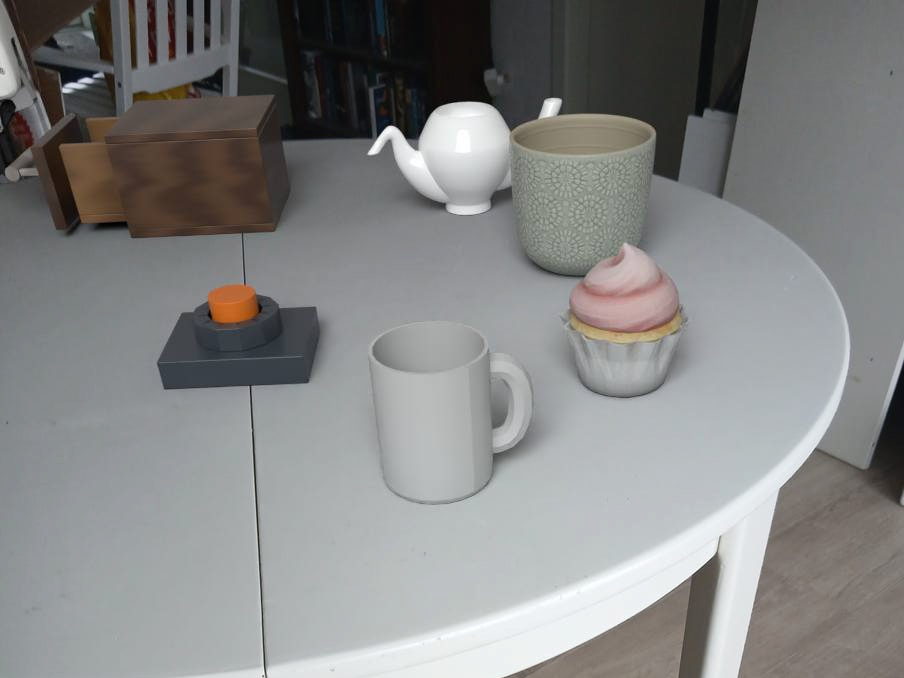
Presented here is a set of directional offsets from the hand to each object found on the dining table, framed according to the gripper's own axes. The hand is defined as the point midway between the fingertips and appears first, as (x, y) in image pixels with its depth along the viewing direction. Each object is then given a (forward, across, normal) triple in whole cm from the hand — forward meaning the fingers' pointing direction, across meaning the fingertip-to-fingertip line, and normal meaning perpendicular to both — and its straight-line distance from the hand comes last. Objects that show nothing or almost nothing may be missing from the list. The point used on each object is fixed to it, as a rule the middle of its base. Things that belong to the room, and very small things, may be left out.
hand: (5, 171), depth 102 cm
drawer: (+4, +10, 0) cm, 11 cm away
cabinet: (+5, +20, 0) cm, 21 cm away
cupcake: (+5, +58, -42) cm, 72 cm away
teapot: (+6, +48, -3) cm, 48 cm away
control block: (+5, +29, -36) cm, 46 cm away
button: (+1, +29, -36) cm, 46 cm away
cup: (+5, +46, -54) cm, 71 cm away
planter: (+6, +57, -19) cm, 61 cm away
